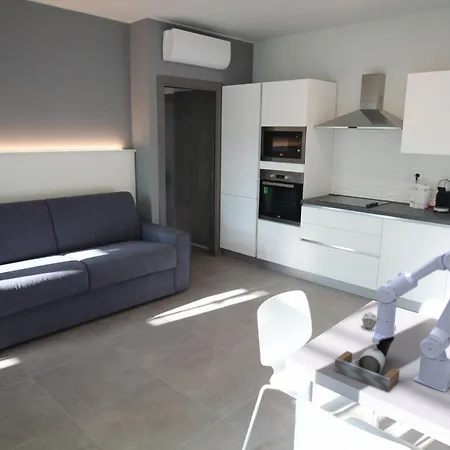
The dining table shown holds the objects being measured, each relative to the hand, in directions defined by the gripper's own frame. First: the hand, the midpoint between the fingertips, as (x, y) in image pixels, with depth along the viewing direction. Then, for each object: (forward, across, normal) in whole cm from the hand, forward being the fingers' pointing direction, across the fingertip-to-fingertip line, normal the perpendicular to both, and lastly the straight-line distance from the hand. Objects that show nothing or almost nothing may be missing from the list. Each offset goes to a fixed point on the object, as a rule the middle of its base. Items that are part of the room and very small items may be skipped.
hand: (382, 356), depth 149 cm
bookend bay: (+2, +11, 0) cm, 12 cm away
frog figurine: (+3, -24, -16) cm, 29 cm away
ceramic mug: (+3, +9, -1) cm, 9 cm away
